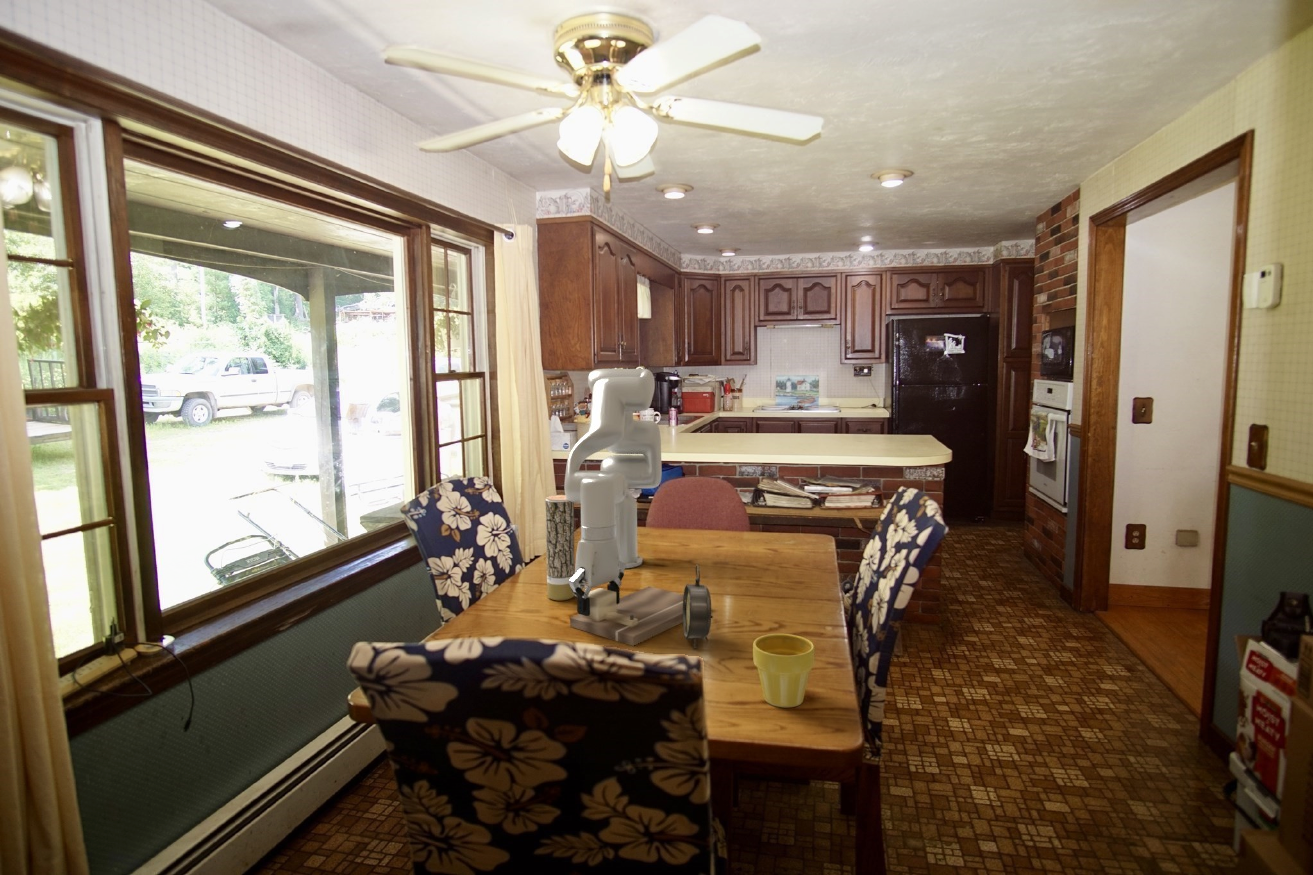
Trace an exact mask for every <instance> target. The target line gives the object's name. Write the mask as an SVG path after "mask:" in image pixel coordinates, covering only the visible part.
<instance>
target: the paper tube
mask: <svg viewBox="0 0 1313 875" xmlns="http://www.w3.org/2000/svg"><path fill="white" fill-rule="evenodd" d="M574 504H575V503H573V502H570V501H569V500H568V499H567V498H566V495H565V494H556V495H550V496H546V497H545V536H546V537H545V538H546V541H545V542H546V581H547V582H546V583H547V584H546V585H547V586H546V588H547V591H546V593H547V594H546V595H547V598H549V599H550V600H553V601H567V600H568V601H569V600H570V599H572V598H574V597H575V594H574V593H573V592H572V588H571V587H570V584H569V580H570V579H571V578H572V577H573V576H574V575H575V564H576V556H575V505H574Z"/></svg>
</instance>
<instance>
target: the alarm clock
mask: <svg viewBox="0 0 1313 875" xmlns="http://www.w3.org/2000/svg"><path fill="white" fill-rule="evenodd" d="M700 571H701V570H700V566H699V565H698V564H696V565H695V577H696V578H695V580H694V581H695V583H694V584H692V583H686V585H685V587H684V590H683V595H684V596H683V622H682V630H683V635H684V638H686V640H688V639H690V640H691V639H692V640H693V646H694V647H693V650H695V651H696V650H697V649H698V647H697V644H698V643H697V642H698V640H704V639H705V640H706V641H707V642H708V641H709V639H708V636H709V633H710V630H711V624H712V623H711V622H712V619H713V615H712V599H711V598H712V597H711V594H710V590H709V588H708V586H706V585H705V584H700V582H701V579H700V578H701V574H700V573H701V572H700Z"/></svg>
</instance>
